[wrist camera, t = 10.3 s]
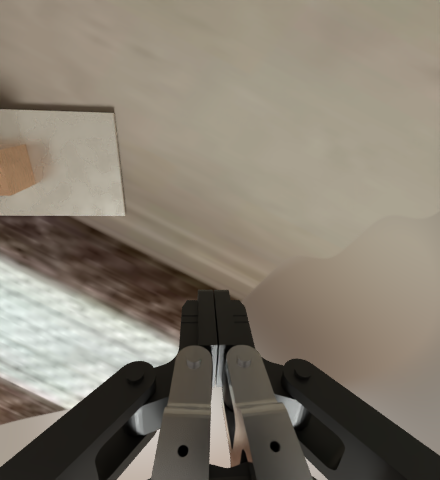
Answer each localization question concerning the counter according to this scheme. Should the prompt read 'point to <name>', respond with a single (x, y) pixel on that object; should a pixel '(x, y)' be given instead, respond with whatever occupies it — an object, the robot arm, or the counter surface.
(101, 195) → the block stand
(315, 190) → the counter surface
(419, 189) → the counter surface
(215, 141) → the counter surface
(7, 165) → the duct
